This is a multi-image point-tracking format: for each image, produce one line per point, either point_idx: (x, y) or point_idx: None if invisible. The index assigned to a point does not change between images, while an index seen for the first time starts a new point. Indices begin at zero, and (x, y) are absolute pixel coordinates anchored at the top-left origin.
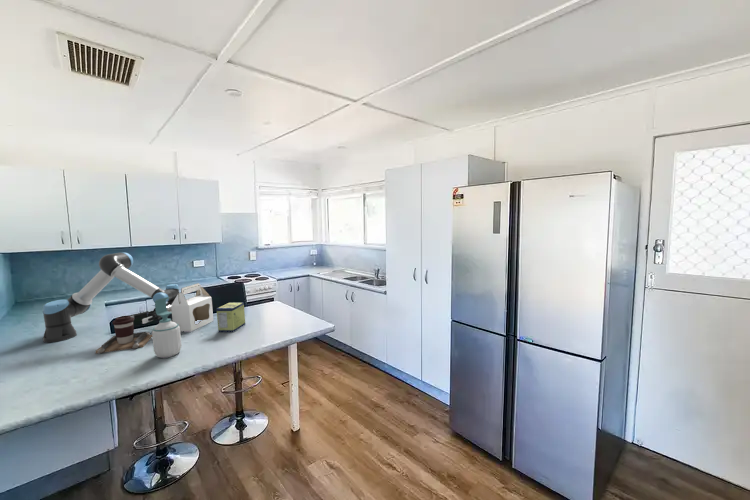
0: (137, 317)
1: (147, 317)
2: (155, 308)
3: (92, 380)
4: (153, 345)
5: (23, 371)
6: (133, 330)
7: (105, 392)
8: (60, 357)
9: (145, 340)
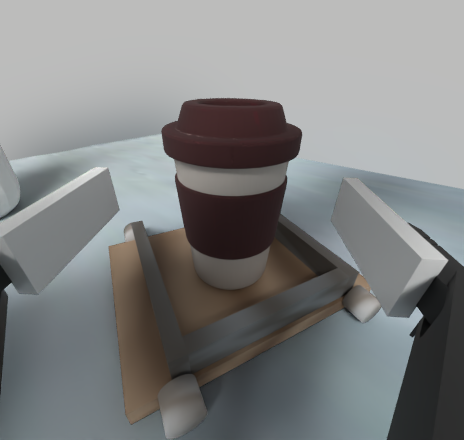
0: (416, 354)
1: (60, 197)
2: None
3: (139, 158)
4: (8, 161)
5: (325, 170)
6: (186, 225)
7: (92, 148)
8: None
9: (120, 286)
